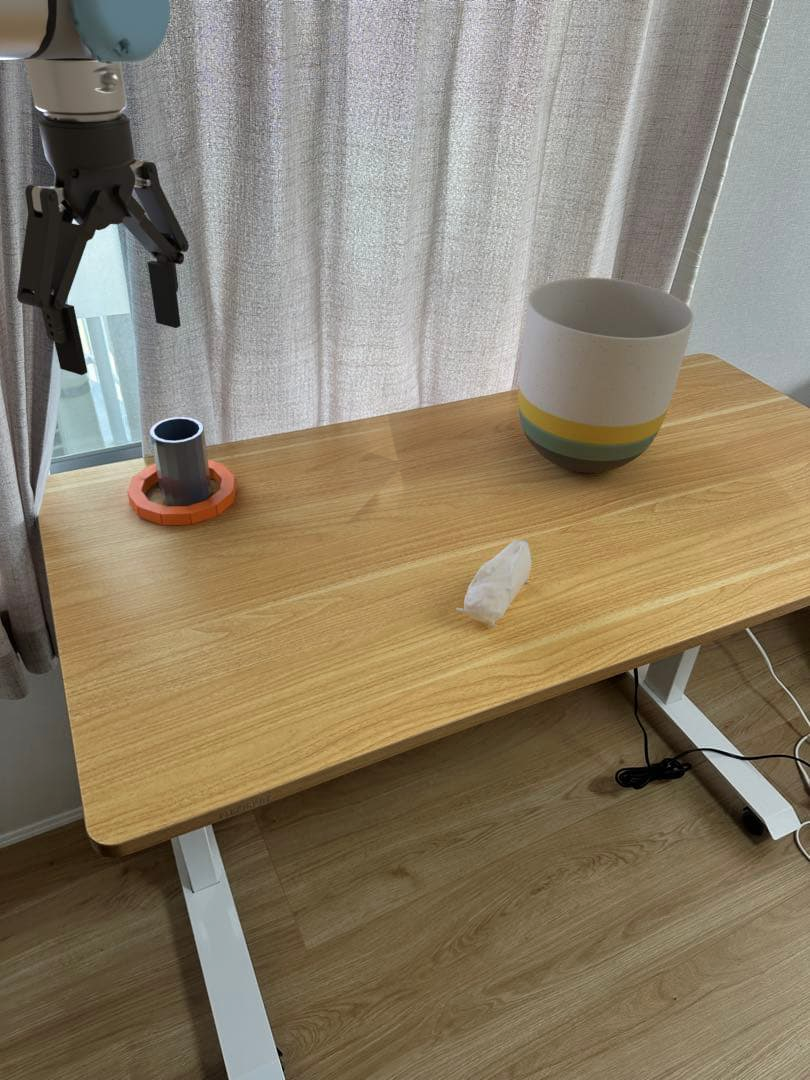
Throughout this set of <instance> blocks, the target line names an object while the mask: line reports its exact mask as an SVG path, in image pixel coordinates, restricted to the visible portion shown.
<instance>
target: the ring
mask: <svg viewBox="0 0 810 1080" xmlns="http://www.w3.org/2000/svg"><path fill="white" fill-rule="evenodd" d="M208 465H209V473H210V480H211V479H212V480H215V482H216V483H217V484H218V485H219V486H220V487H219V489H218V490H217V491H216V492H215V493H214V494H213V495H211V496H210V497H209V498H208V499H207V500H206V501H202V502H199V503H196V504H193V505H190V506H170V505H167V506H166V505H163V504H160V503H157V502H154V501H152V500H149V499H148V498H147V496H146V494H147V491H148V490H149V489H151V488H152V487H153V486H154V485H156V484H157V483H159V481H158V475H157V469H156V463H152V464H150V465H148V466H147V467H145V468H144V469H142V470H141V471H140V472H138V473H137V474H135V475H134V476H132V478H131V481H130V483H129V487H128V490H127V492H126V493H127V498H128V503H129V505H130V506H131V508H132V509H133V511H134V512H135V514H136V515H137V517H139V518H140V519H143V520H146V521H148V522H152V523H154V524H156V525H157V524H158V525H161V526H190V525H195V524H198V523H200V522H204V521H207V520H209V519H212V518H216V517H217V516H219V515H221V514H222V513H223V512H224V511H226V510H227V509H228V508H229V507H230V506H231V505H233V504H234V502H235V499H236V491H237V483H236V476H235V475H234V474H233V473H232V471H231V470H230V469H229V468H228V467H227V466H226V465H225V464H223V463H221V462H218V461H214V460H211V459H208Z"/></svg>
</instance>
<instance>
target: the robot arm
mask: <svg viewBox="0 0 810 1080" xmlns="http://www.w3.org/2000/svg"><path fill="white" fill-rule="evenodd" d="M170 18H171V4H170V0H0V61H4V60H5V61H6V60H25V65H26V69H27V75H28V80H29V84H30V85H29V86H30V90H31V95H32V100H33V105H34V106H33V107H34V108H36V109H37V110H38V111H40V112H42V114H41V115H40V117H39V119H38V120H37V123H38V128H39V133H40V139H41V142H42V148H43V153H44V157H45V159H46V161H47V162H48V163H49V165H50V166H51V168H52V169H53V173H54V183H53V186H52V185H51V186H40V185H35V184H27V186H25V190H24V193H25V199H26V201H25V202H26V207H27V208H26V209H27V219H26V225H25V226H26V227H25V233H24V234H25V236H24V241H23V248H22V256H21V263H20V264H21V265H20V270H19V276H18V285H17V293H16V298H17V301H18V302H19V303H20V304H23V305H27V306H30V307H34V308H38V309H40V311H41V315H42V319H43V323H44V327H45V330H46V336H47V337H48V340H49V341H52V342H54V346H55V351H56V355H57V360H58V364H59V368H60V370H63V371H66V372H70V373H73V374H75V375H80V376H84V375H85V374H88V367H87V363H86V358H85V352H84V348H83V344H82V343H83V342H82V339H81V333H80V329H79V325H78V320H77V315H76V310H75V305H72V304H69V303H67V301H68V298H69V295H70V292H71V290H72V287H73V284H74V281H75V279H76V275H77V272H78V270H79V266H80V264H81V261H82V257H83V255H84V252H85V249H86V247H87V243H88V242H89V241H91V240H92V239H93V238H94V236H95V234H96V231H101V230H105V229H106V228H107V227H110V226H111V225H119V224H122V225H123V226H124V227H125V228H126V229H127V230H128V231H129V232H130V234H132V236H133V237H134V238H135V239H136V240H137V242H139V244H140V245H141V246H142V247H143V248H144V249H145V250H146V251H147V253H149V254H150V255H151V256H152V258H153V259H155V260H150V261H148V262H147V269H148V276H149V283H150V290H151V296H152V305H153V310H154V318H155V323H156V324H157V325H162V326H165V327H170V328H174V329H178V328H179V327H181V325H182V324H181V317H180V309H179V301H178V294H177V292H179V281H178V271H177V265H182V264H183V263H184V261H185V255H184V253H186V252H188V250H189V248H190V247H189V246H190V244H189V241H188V239H187V237H186V235H185V233H184V231H183V229H182V227H181V225H180V223H179V220H178V218H177V217H176V215H175V213H174V211H173V209H172V206H171V204H170V203H169V200H168V199H167V196H166V195H165V192H164V190H163V187H162V186H161V183H160V178H159V173H158V168H157V165H156V163H155V162H153V161H147V160H142V159H136V158H135V157H136V154H135V153H136V152H135V144H134V138H133V132H132V125H131V119H130V118H129V117H128V116H127V115H126V114H125V113H122V111H124V110H126V108H127V106H128V101H127V94H126V88H125V81H124V73H123V66H122V63H128V64H134V63H141V62H143V61H146V60H147V59H149V58H151V56H153V55H154V54H155V53H156V52H157V51H158V49H159V48H160V47H161V45H162V44H163V42H164V40H165V38H166V35H167V32H168V29H169V24H170V20H171V19H170ZM133 192H135V195H136V197H137V198H138V201H139V202H140V203H139V202H138V201H137V200H136V198H135V197H134V195H133ZM73 221H75V222H76V223H73Z"/></svg>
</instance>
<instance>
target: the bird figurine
mask: <svg viewBox="0 0 810 1080" xmlns="http://www.w3.org/2000/svg"><path fill="white" fill-rule="evenodd" d="M532 566H533V565H532V555H531V549H530V547H529V541H527V539H526V538H523V539H520V540H518V539H516V538H515V539H513V540H512V542H510V543H509V544H508V545H507V546H505V547H504V548H503V549H502V550H501V551H499V552H498V553H496V555H495V556H494V557H492V558H491V559H490V560H488V561H486V562H485V563H483V564H482V565H481V567H479V569H478V571H477V573H476V574H475V575H474V577H473V578H472V580H471V582H470V583H469V585H468V587H467V589H466V594H465V595H464V600H463V608H461V607H456V608H455V611H457V612H460V613H463V614H464V615H467V616H468V617H469V619H471V620H472V621H477V622H481V623H485V624H486V625H488V626H489V627H493V628H498V625H497V624H495V623H496V622H497V621H499V620H501V619H502V618H503V616H504V615H505V613H506V612H507V610H508V609H509V608H510V606H511V605H512V603H513V601H514V600H515V598H516V596H517V595H518V594H519V592H520V590H521V589H522V588H523V587H524V585H525V584H526V583H527V584H529V583H530V577H529V576H530V573H531V570H532Z"/></svg>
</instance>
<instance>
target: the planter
mask: <svg viewBox="0 0 810 1080" xmlns="http://www.w3.org/2000/svg"><path fill="white" fill-rule="evenodd" d="M694 320H695V319H694V313H693V311H692V309H691V308H690V306H688V305H687V304H686V302H684V301H683V300H681V299H679V298H678V297H677V296H675V295H672V294H670V293H668V292H666V291H664V290H661V289H658V288H657V287H653V286H651V285H650V286H649V285H646V284H642V283H638V282H634V281H629V280H622V279H615V278H606V277H569V278H562V279H556V280H551V281H549V282H546V283H542V284H541V285H539V286H537V287H535V288H534V289H533V290H532V291H530V293H529V295H528V298H527V305H526V312H525V320H524V327H523V336H522V345H521V354H520V364H519V376H518V387H517V405H518V406H517V407H518V415H519V421H520V425H521V428H522V431H523V433H524V435H525V437H526V439H527V440H528V441H529V443H530V444H531V446H532V447H533V448H534V449H535V451H537V453H539V454H540V455H541V456H542V457H544V458H545V459H546V460H548V461H549V462H550V463H552V464H554V465H556V466H558V467H560V468H563V469H564V470H565V469H566V470H568V471H572V472H577V473H586V474H595V473H605V472H609V471H612V470H616V469H618V468H621V467H624V466H626V465H627V464H629V463H631V462H633V461H634V460H635V459H638V458H639V457H640V456H641V455H642V454H643V453H645V452H646V451H647V450H648V448H649V447H650V446H651V444H652V443H653V442H654V440H655V439H656V437H657V435H658V433H659V431H660V430H661V428H662V426H663V424H664V421H665V419H666V416H667V414H668V410H669V407H670V404H671V401H672V398H673V394H674V391H675V388H676V385H677V381H678V377H679V374H680V372H681V368H682V364H683V362H684V361H683V360H684V357H685V354H686V350H687V346H688V342H689V340H690V335H691V332H692V327H693V324H694Z"/></svg>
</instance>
